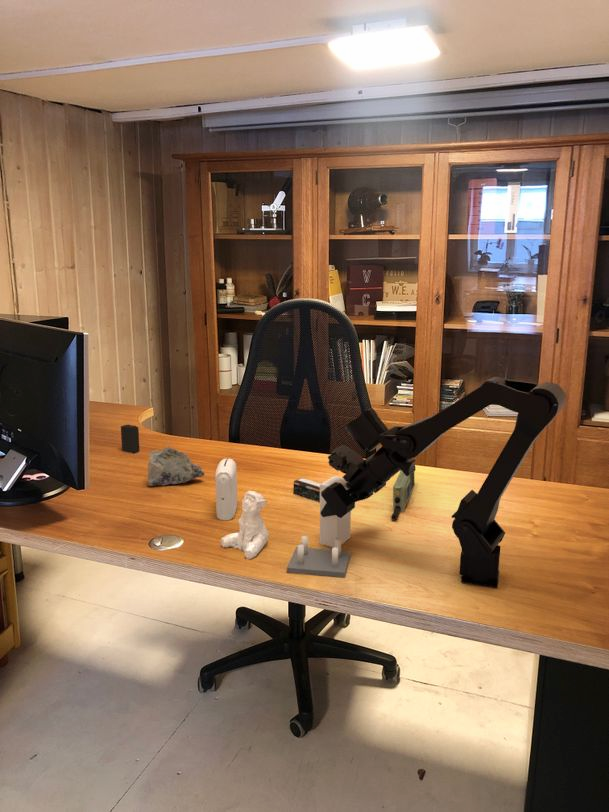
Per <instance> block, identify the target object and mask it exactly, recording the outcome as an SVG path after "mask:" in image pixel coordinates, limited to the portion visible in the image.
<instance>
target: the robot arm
mask: <svg viewBox="0 0 609 812" xmlns="http://www.w3.org/2000/svg"><path fill="white" fill-rule="evenodd" d="M566 403H567V397H566V393H565V391H564V389H563V387H561V386H560V385H558V384H557V383H554V382H552V381H549V382H548V381H545V382H540V383H536V382H535V383H534V382H530V381H521V380H513V379H512V380H511V379H507V378H506V379H505V378H503V377H499V376H493V377H491V378H490V379H487V380H485V382H483V383H482V384H481V385H480V386H479V387H477V388H475V389H474V390H473V391H471V392H469V393H468V394H466V395H465V396H462V397H461V398H459V399H458V400H456V401H454V403H452V404H450V405H449V406H447V407H445V408H443V409H442V410H441V411H439V412H437V413H435V414H433V415H430V416H428V417H424V418H421V419H419V420H417V421H414V422H412V423H409V424H408V425H405V426H400V425H399V426H397V425H396V426H392V427H390V428H388V427H387V426H386V424H385V423H384V422H383V420H382V419H381V418H380V417H379V415H378V413H377V412H376V410H375V409H374V407H371V408H368V409H367V410H365V411H364V412H363V413H362V414H359V416H357V417H356V418H354V419H352V420H351V421H349V422H348V424H346V425H345V427H344V429H345V430H346V432H347V433H348V434H349V435H350V436H351V438H352V439H353V440H354V442H355V443H356V444H357V445H358V447H359V448H360V449H361V450H362V451H363V452H366V451H367V450H368V451H369V452H372V451H374V450H375V449H377V448H378V447H379V446H380V445H381V446H380V448H378V450H376V451H375V452H373V454H371V455H370V456H368V457H367V458H363V457H362V455H360V454H359V453H357V452H356V451H355V450H353V449H352V448H350V447H348V446H347V445H344V444H341V445H340V446H338V447H336V448H334V449H333V451H332V452H331V454H329V455H328V456H327V459H328V462H327V463H328V466H330V467H331V468H333V469H334V470H336V471H337V472H341V473H343V474H344V475H343V476H342V478H344V480H345V481H346V482H347V481H348V483H346V484H345V486H346V487H347V488H349V489H348V490H346V489H345V488H344V486H343V485H342V484H341V483H338V482H335V483H333V484H331V485H330V486H328V487H327V488H325V489H324V490H323V491H322V492H321V496H322V497H323V498H324V500H325V501H326V502H327V503H326V504H325V506H324V508H323V509H322V511H321V512H320V511H319V515H320V514H321V515H322V517H328V516H334V515H337V517H339V518H342V517H343V516H344V515H346V514H347V513H349V512H350V511H351V512H352V510H354V509H355V508H356V503H357V502H360V501H364V500H367V499H369V498H370V497H372V496H373V495H374V494H376V493H378V492H379V491H381V490H382V489H384V488H385V486H387V482H389V481H390V480H391V478H393V477H394V476H395V475H396V474H398V472H399V473H400V470H402V471H403V473H404V474H405V475H406V476H409V475H410V474H412V473H413V472H414V473H415V472H416V459H414V458H416V457H418V456H419V455H421V454H422V453H423V452H425V451H427V450H428V449H429V448H430V447H432V446H433V445H434V444H435V443H436V442H437V441H438V440H439V439H440V438H441V437H442V436H443V435H444V434H445V433H447V431H449V430H451V429H452V428H454V427H456V426H457V425H459V424H461V423H462V422H464V421H466V420H468V419H469V418H470V417H473V416H474V415H476V414H478V413H479V412H481V411H482V410H484V409H486V408H487V407H489V406H491V405H497V406H500V407H502V408H504V409H507V410H508V411H511V412H514V413H517V416H516V419H515V426H514V429H513V432H512V433H511V435H510V436H509V438H508V440H507V442H506V443H505V445H504V447H503V448H502V451H501V452H500V454H499V455H498V457H497V459H496V461H495V462H494V464H493V466H492V468H491V469H490V470H489V472H488V475H487V476H486V477H485V479H484V481H483V484H482V485H481V487H480V489H478V492H476V491H475V490H474V489H471V490H470V491H469V492H468V493H467V494H465V495H464V497H462V499H461V500H460V502H459V505H458V508H457V509H456V511H455V512H454V513H453V514H452V515H451V518H452V519H453V521H452V525H451V528H452V531H453V534H454V535H455V536H456V538H457V539H458V541H459V545H460V548H461V552H460V559H459V572H458V573H459V575H460V576H461V579H460V582H461V583H462V584H468V585H474V586H481V587H486V588H487V587H488V588H494V589H497V588H498V587H499V580H500V571H501V570H500V559H501V545H499V544H500V543H501V542H502V541H503V538H504V537H505V534H506V531H505V530H504V529H503V528H502V527H501V526H500V524H499V523H498V522H497V520H496V517H497V514H498V512H499V511H498V510H499V506H500V501H501V499H502V496H504V494H505V492H506V490H507V488H508V486H509V484H511V481H512V480H513V478H514V477H515V475H516V473H517V471H518V470H519V469H520V466H521V465H522V463H523V462H524V459H525V458H526V456H527V455H528V453H529V452H530V450H531V448H532V446H533V445H534V443H535V441H537V440H536V439H537V438H538V437H539V436H540V435H541V433H542V432H544V430H545V429H546V428H547V427H548V426H549V424H551V422H552V421H554V420H555V418H556V417H557V416H558V414H559V413H560V412H562V410H563V409H564V408H565V405H566Z"/></svg>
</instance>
